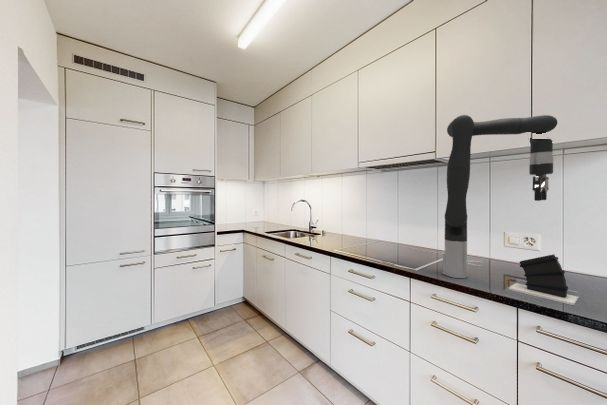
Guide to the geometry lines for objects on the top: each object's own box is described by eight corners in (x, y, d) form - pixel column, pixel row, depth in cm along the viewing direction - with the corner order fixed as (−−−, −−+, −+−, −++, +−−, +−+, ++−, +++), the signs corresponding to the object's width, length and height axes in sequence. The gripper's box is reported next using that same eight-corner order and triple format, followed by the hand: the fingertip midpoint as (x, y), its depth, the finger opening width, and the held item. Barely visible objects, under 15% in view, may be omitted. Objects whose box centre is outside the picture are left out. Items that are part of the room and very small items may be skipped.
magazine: (578, 296, 87) (553, 255, 92) (533, 301, 97) (512, 263, 102) (580, 294, 89) (555, 253, 94) (535, 298, 99) (515, 261, 104)
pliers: (480, 264, 133) (449, 259, 143) (480, 267, 133) (449, 262, 143) (484, 260, 140) (454, 256, 150) (484, 263, 140) (454, 258, 150)
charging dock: (508, 289, 100) (508, 284, 100) (516, 284, 106) (516, 278, 106) (573, 305, 86) (573, 298, 86) (578, 298, 92) (578, 292, 92)
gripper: (533, 165, 115) (533, 200, 115) (525, 163, 107) (524, 200, 107) (556, 163, 109) (556, 200, 109) (549, 161, 100) (548, 200, 101)
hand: (540, 200), depth 108 cm, fingers open, 8 cm apart
